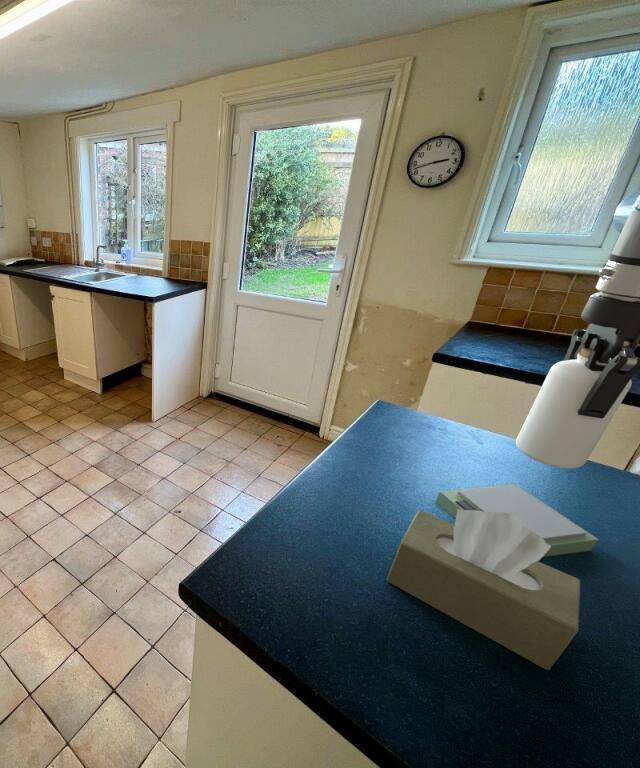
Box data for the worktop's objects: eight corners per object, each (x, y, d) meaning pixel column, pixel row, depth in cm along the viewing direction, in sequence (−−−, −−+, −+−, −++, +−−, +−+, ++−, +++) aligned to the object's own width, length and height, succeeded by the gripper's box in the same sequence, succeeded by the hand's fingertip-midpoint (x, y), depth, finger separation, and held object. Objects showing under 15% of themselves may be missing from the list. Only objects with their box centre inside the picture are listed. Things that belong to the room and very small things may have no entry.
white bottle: (517, 435, 72) (564, 338, 64) (584, 456, 67) (645, 352, 59) (509, 454, 67) (559, 351, 59) (581, 479, 61) (647, 368, 54)
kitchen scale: (509, 493, 80) (515, 480, 79) (591, 550, 68) (600, 536, 66) (435, 501, 78) (440, 488, 77) (505, 561, 66) (513, 547, 64)
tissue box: (556, 621, 57) (614, 536, 50) (551, 674, 51) (617, 585, 44) (402, 544, 69) (432, 467, 62) (383, 580, 63) (414, 499, 56)
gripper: (569, 282, 63) (508, 415, 73) (626, 307, 51) (542, 464, 61) (637, 287, 60) (563, 425, 71) (715, 314, 48) (612, 477, 58)
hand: (554, 442), depth 66 cm, fingers open, 2 cm apart
